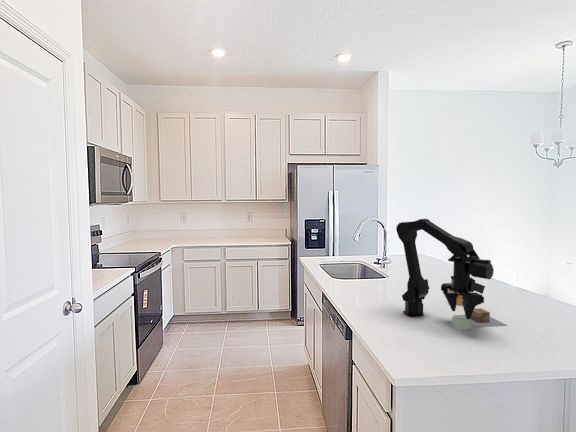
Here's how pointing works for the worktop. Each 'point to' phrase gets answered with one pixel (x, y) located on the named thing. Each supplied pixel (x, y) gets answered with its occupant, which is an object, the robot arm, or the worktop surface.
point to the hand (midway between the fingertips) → (460, 315)
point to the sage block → (461, 323)
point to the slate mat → (492, 323)
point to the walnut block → (480, 315)
